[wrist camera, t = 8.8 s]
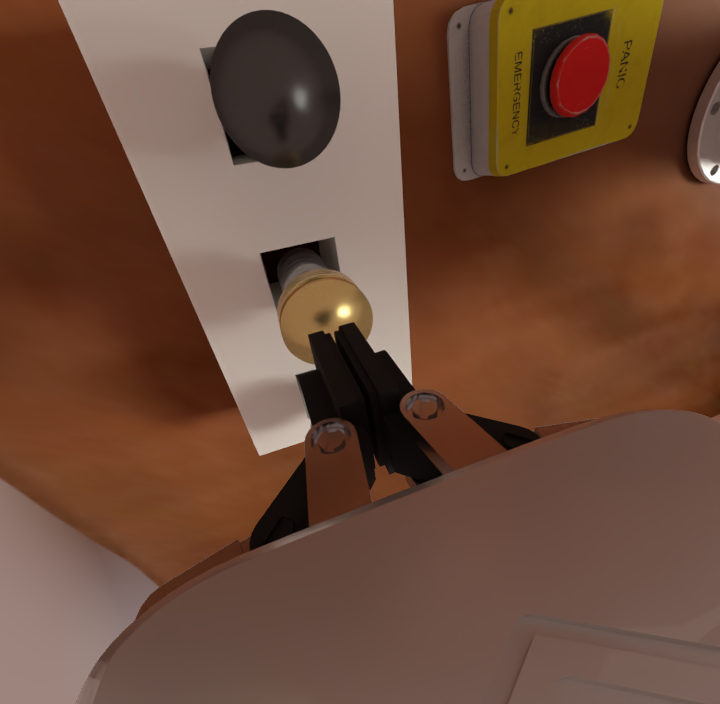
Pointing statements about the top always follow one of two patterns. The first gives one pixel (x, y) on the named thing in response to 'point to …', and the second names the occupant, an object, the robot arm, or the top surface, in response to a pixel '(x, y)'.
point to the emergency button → (545, 79)
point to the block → (258, 182)
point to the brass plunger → (316, 301)
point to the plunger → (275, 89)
